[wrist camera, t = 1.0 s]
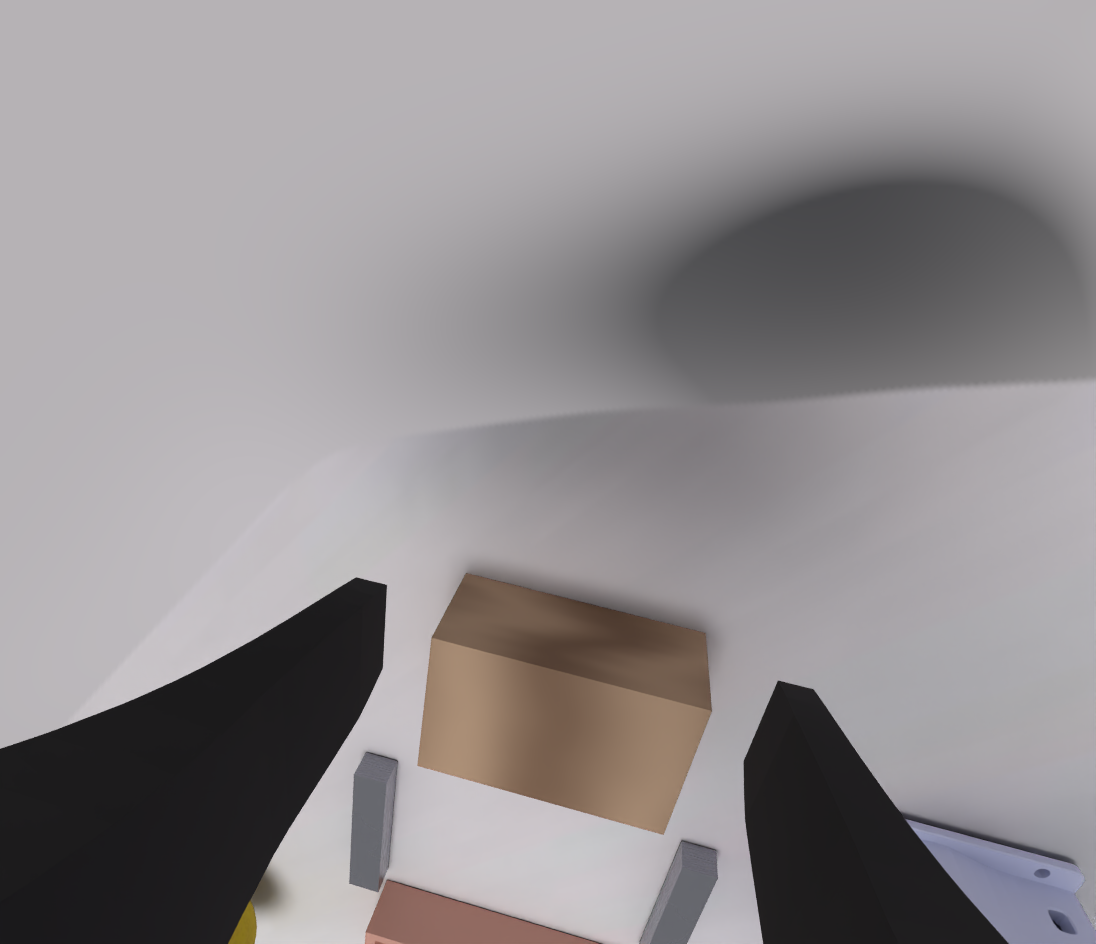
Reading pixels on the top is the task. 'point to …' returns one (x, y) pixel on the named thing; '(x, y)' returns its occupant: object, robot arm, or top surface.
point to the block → (565, 701)
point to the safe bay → (373, 835)
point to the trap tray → (449, 922)
